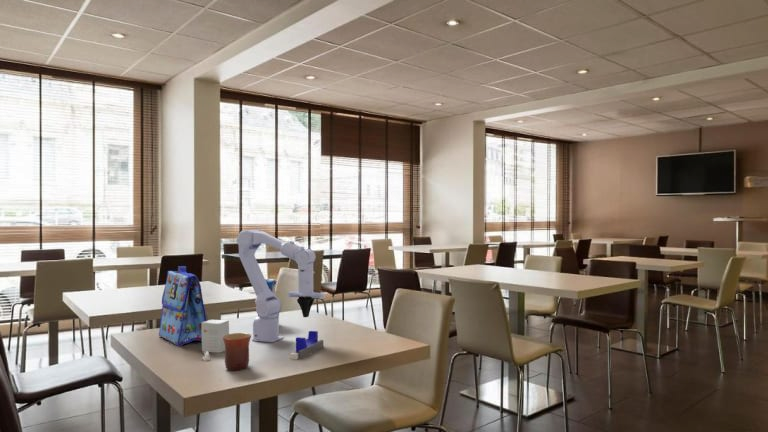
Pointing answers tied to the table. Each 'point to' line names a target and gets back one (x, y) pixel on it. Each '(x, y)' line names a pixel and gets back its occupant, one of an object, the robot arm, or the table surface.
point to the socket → (307, 350)
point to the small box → (214, 335)
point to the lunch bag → (182, 308)
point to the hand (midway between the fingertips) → (305, 316)
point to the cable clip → (306, 340)
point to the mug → (236, 351)
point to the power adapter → (206, 356)
